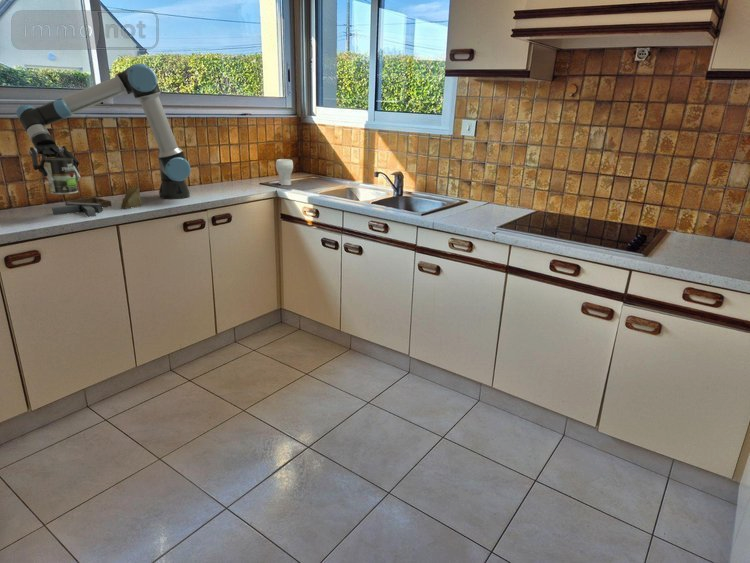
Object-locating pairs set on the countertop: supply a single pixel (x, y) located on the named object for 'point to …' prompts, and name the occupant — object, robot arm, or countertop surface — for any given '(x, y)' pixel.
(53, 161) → the coffee can
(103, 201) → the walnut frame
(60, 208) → the dark grey branched bar
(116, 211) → the countertop surface
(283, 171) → the cup
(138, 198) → the rock
